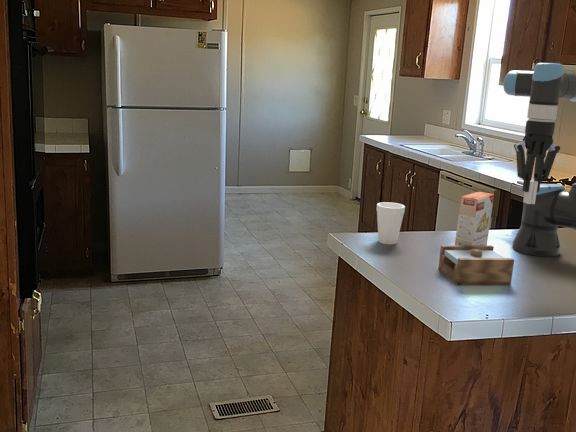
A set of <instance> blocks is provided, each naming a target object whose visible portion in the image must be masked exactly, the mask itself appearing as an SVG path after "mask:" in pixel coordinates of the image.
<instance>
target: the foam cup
mask: <svg viewBox="0 0 576 432" xmlns="http://www.w3.org/2000/svg"><path fill="white" fill-rule="evenodd" d="M405 209H406V206H405V205H404V204H402V203H397V202H391V201H390V202H387V201H386V202H385V201H383V202H378V203H377V204H376V219H377V236H378V237H377V239H378V242H379V243H381V244H383V245H396V244H397V243H398V239H399V235H400V233H401V232H400V231H401V226H402V222H403V218H404V214H405V212H406V210H405Z"/></svg>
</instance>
